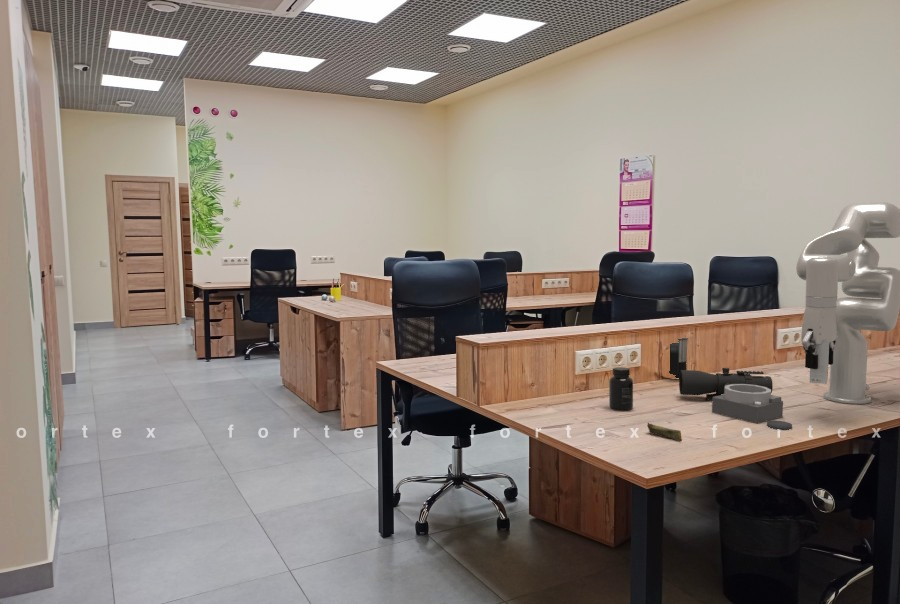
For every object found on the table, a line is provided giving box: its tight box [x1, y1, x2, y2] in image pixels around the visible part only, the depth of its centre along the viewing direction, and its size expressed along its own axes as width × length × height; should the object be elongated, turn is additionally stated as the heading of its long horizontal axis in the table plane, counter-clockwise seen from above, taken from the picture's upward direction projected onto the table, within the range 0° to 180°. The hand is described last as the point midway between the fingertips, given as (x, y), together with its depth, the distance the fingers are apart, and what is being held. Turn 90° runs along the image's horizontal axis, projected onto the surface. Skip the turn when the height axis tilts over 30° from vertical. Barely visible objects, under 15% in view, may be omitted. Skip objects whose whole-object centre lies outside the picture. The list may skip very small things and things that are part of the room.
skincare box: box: [809, 340, 829, 385], centre depth 181 cm, size 6×4×12 cm
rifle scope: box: [678, 367, 774, 402], centre depth 203 cm, size 10×26×10 cm, turn 78°
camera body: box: [711, 384, 784, 424], centre depth 186 cm, size 12×14×8 cm
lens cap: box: [766, 420, 793, 431], centre depth 174 cm, size 6×6×1 cm
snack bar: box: [646, 422, 683, 442], centre depth 166 cm, size 10×2×3 cm, turn 38°
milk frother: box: [669, 337, 689, 378], centre depth 234 cm, size 14×16×15 cm
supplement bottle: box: [608, 366, 634, 412], centre depth 193 cm, size 7×7×12 cm
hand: (819, 365), depth 181 cm, fingers closed on skincare box, 7 cm apart
